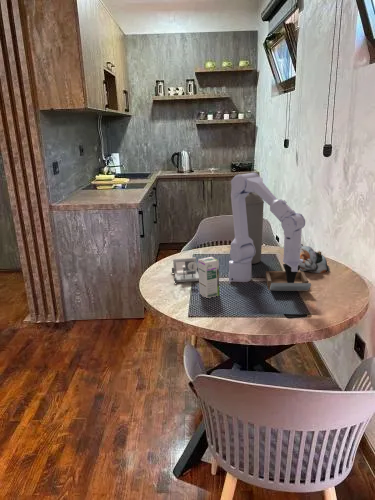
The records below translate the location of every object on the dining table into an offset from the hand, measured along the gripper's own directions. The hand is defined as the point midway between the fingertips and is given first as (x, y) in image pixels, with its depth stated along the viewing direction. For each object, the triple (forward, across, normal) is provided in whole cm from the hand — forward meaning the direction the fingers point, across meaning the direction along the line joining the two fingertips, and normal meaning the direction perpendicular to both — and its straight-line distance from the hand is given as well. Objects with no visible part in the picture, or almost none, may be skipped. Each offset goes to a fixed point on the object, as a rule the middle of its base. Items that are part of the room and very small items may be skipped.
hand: (290, 283), depth 140 cm
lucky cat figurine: (+6, +28, -13) cm, 31 cm away
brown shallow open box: (+5, +10, 0) cm, 12 cm away
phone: (+6, -10, +2) cm, 11 cm away
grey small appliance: (+6, +19, +40) cm, 45 cm away
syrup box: (+6, +1, +30) cm, 30 cm away
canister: (+6, +42, +13) cm, 44 cm away
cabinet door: (+4, +4, 0) cm, 6 cm away
